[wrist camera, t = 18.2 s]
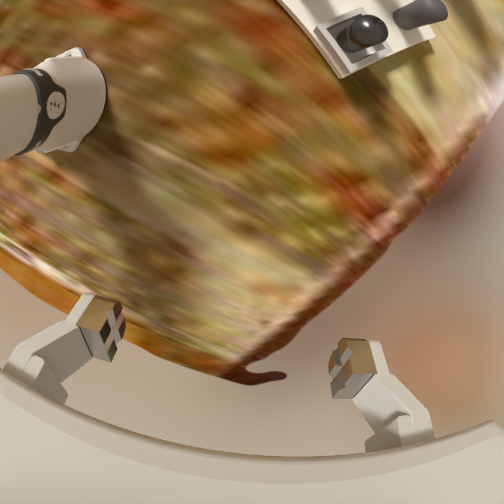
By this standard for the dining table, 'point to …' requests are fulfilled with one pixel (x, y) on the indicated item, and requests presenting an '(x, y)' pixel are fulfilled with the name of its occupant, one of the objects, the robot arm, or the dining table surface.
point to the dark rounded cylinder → (362, 34)
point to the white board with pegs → (353, 7)
